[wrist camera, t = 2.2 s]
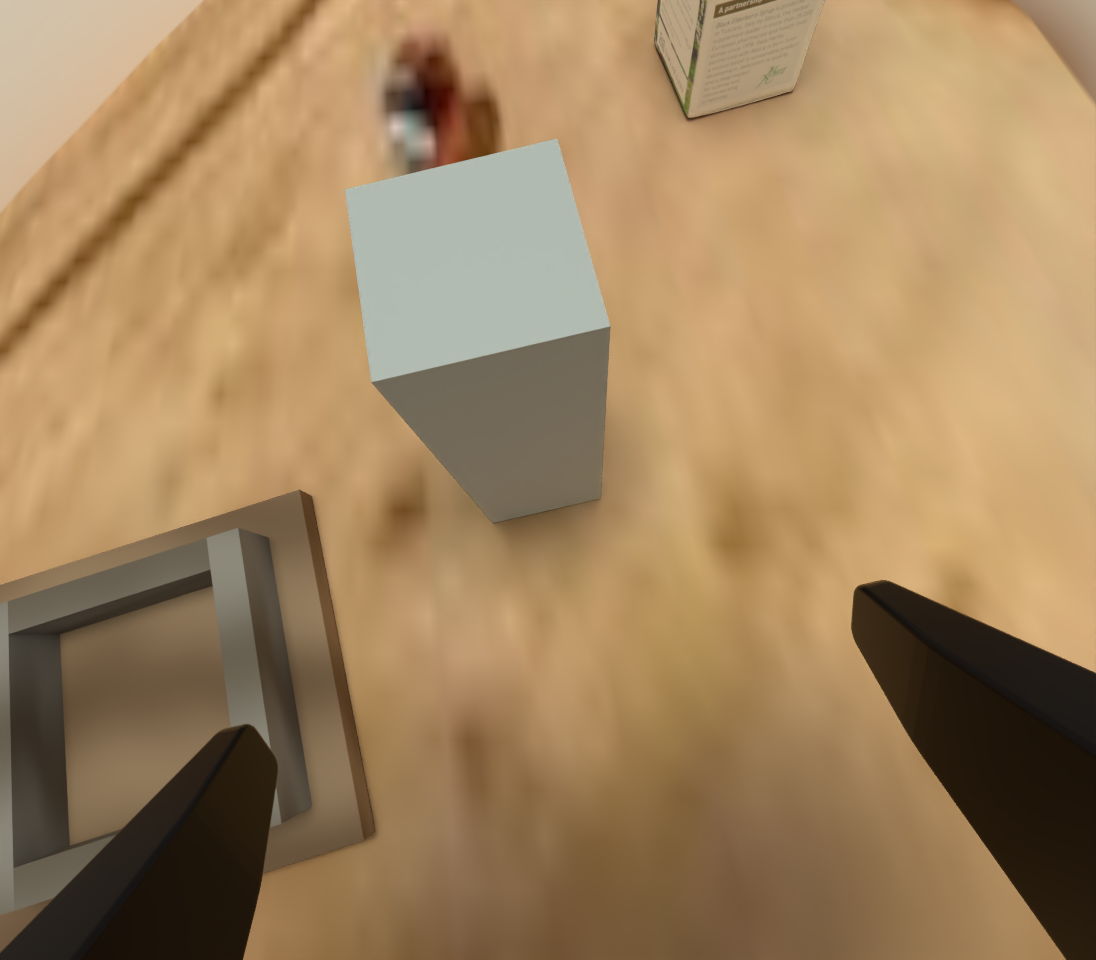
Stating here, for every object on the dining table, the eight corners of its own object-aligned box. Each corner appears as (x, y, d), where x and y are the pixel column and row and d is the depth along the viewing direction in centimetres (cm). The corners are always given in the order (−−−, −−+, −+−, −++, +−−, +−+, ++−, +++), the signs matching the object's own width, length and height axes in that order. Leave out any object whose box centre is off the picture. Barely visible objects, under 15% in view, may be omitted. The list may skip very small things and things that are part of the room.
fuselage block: (600, 498, 23) (610, 326, 10) (492, 523, 23) (371, 382, 10) (575, 399, 24) (557, 138, 11) (473, 423, 24) (345, 189, 12)
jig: (375, 831, 20) (338, 863, 17) (24, 945, 20) (-72, 996, 17) (311, 496, 24) (272, 476, 21) (15, 590, 23) (-65, 583, 21)
